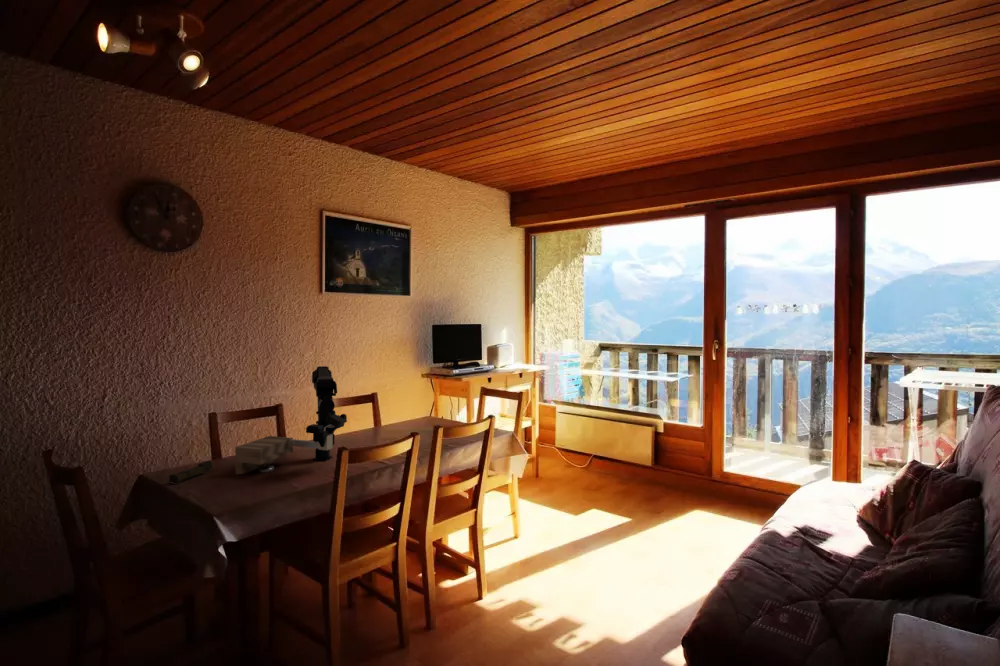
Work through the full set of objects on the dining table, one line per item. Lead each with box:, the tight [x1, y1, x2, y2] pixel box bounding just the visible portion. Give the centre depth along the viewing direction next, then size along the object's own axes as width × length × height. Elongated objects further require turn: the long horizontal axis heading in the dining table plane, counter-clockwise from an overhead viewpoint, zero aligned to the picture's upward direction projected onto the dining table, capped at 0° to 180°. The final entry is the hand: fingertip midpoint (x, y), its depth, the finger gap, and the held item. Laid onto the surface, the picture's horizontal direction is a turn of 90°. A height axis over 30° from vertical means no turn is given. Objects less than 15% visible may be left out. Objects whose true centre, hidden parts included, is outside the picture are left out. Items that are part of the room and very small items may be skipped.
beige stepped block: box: [234, 435, 294, 475], centre depth 224 cm, size 20×12×11 cm, turn 164°
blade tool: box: [290, 433, 334, 450], centre depth 226 cm, size 4×19×6 cm, turn 74°
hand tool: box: [168, 460, 213, 484], centre depth 212 cm, size 19×4×5 cm, turn 162°
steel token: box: [257, 464, 275, 473], centre depth 222 cm, size 6×6×2 cm
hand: (325, 445), depth 224 cm, fingers closed on blade tool, 4 cm apart
